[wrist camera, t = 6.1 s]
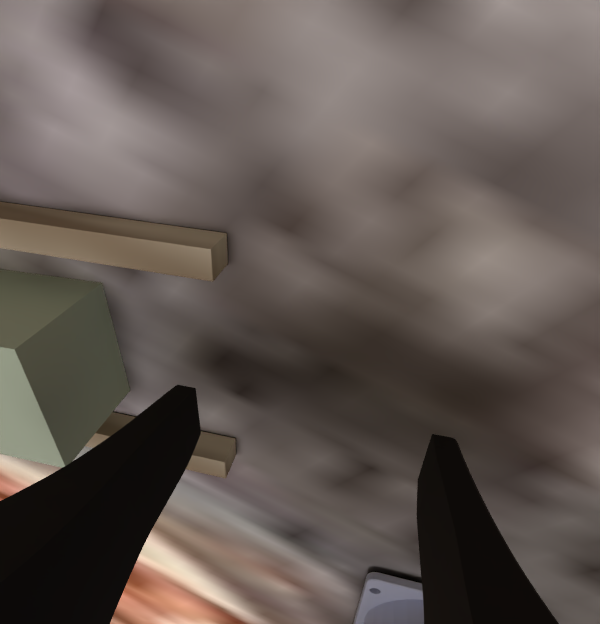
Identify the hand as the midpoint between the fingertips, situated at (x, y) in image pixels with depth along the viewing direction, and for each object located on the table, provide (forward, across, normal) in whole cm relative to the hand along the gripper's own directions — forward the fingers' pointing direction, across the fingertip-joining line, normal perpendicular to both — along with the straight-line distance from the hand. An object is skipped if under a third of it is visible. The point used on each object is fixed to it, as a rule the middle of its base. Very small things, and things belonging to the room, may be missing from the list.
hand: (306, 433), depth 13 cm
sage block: (+2, +10, 0) cm, 11 cm away
